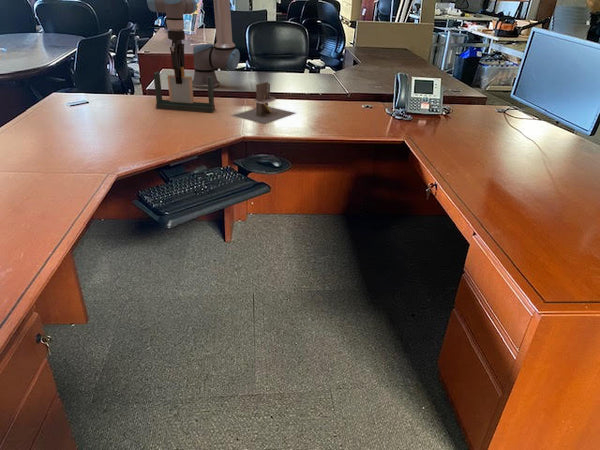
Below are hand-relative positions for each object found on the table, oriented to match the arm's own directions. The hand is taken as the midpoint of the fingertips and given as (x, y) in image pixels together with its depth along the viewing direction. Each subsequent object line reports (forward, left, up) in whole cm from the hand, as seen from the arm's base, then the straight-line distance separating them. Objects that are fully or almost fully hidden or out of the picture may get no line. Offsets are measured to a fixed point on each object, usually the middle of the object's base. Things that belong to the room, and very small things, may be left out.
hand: (180, 82), depth 213 cm
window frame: (-1, +1, -13) cm, 13 cm away
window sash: (0, 0, -10) cm, 10 cm away
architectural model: (-22, +34, -13) cm, 43 cm away
